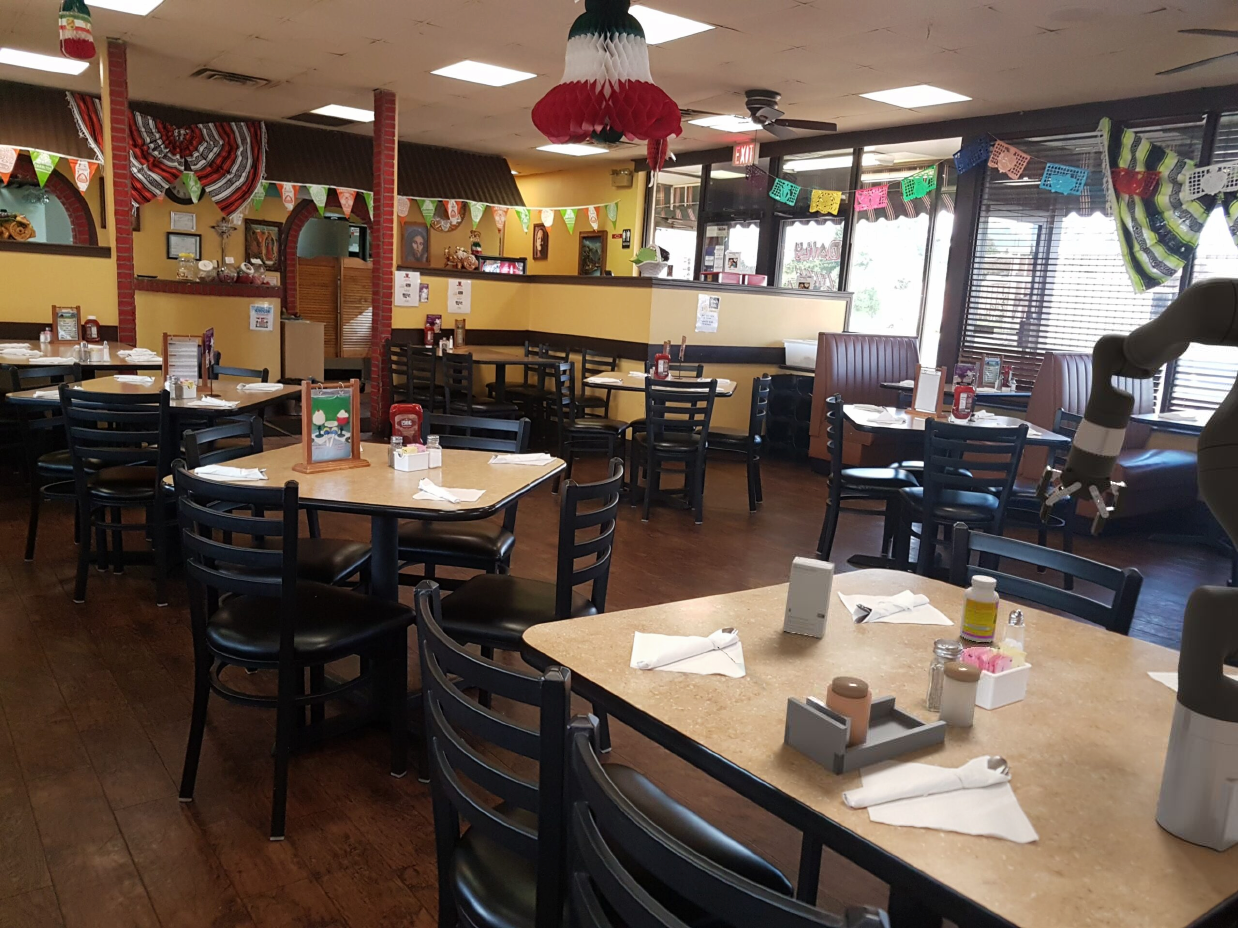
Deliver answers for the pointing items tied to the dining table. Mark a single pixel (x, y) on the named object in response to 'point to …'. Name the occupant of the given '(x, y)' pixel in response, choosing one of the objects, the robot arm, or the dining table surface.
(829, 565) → the skincare box
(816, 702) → the plate
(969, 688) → the cream jar
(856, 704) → the terracotta jar
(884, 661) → the dining table surface
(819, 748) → the pusher lane
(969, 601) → the supplement bottle
